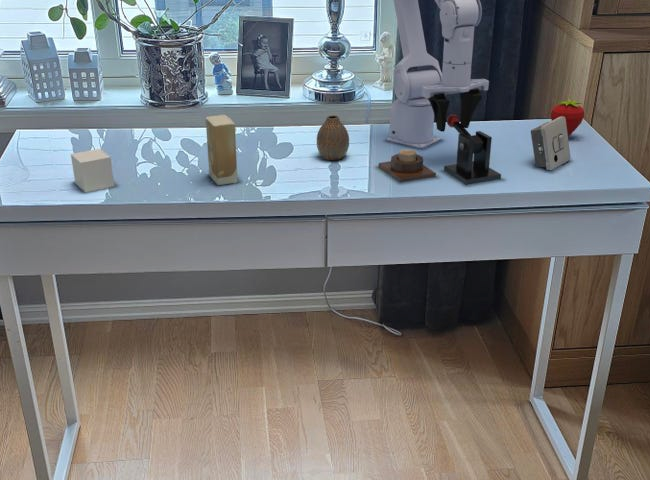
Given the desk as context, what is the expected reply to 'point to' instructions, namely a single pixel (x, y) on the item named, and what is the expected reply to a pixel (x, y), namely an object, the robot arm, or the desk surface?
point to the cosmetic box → (221, 149)
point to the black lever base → (471, 169)
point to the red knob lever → (465, 132)
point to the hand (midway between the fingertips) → (452, 128)
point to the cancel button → (407, 155)
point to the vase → (332, 139)
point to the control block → (407, 169)
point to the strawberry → (569, 114)
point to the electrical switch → (551, 144)
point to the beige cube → (92, 170)
